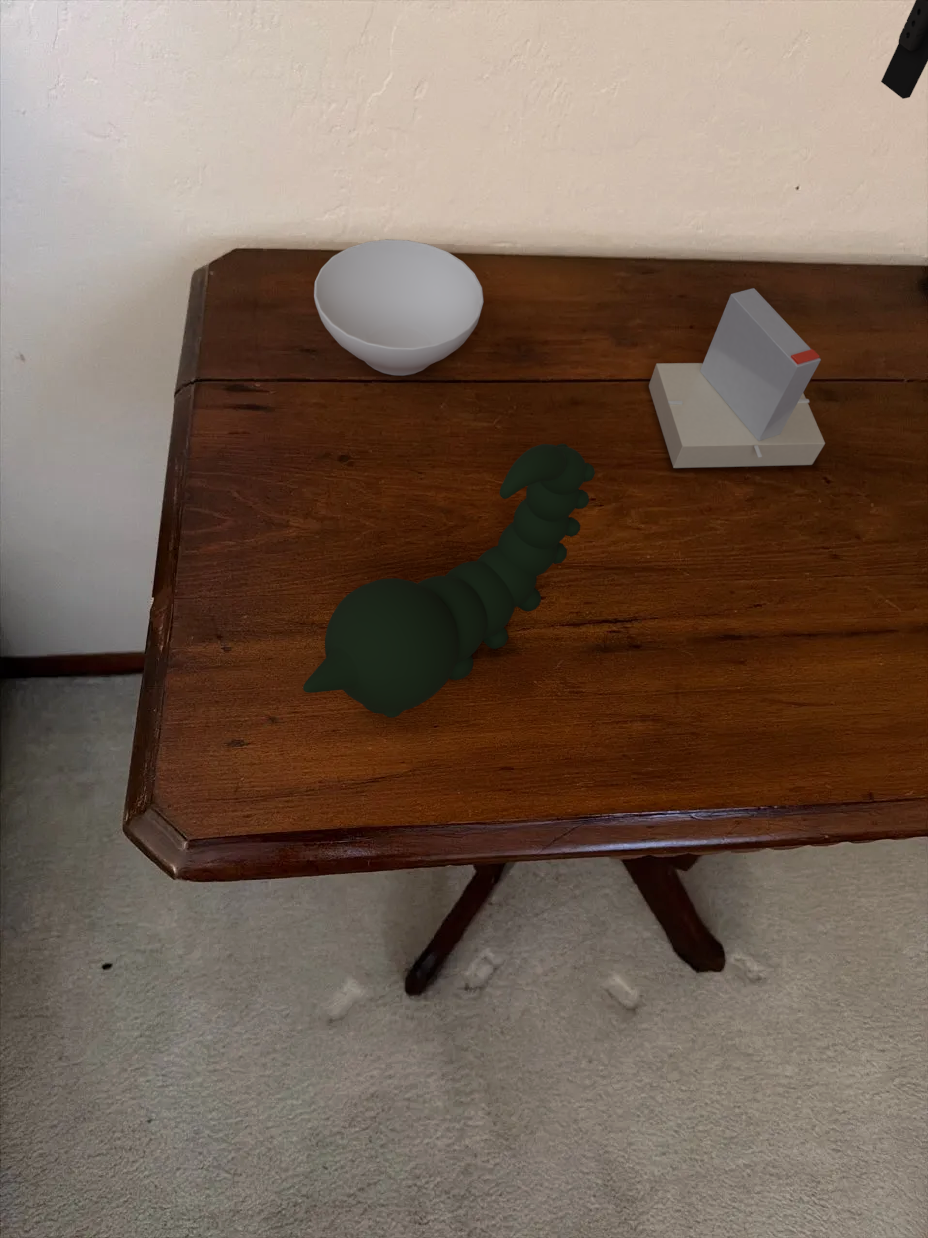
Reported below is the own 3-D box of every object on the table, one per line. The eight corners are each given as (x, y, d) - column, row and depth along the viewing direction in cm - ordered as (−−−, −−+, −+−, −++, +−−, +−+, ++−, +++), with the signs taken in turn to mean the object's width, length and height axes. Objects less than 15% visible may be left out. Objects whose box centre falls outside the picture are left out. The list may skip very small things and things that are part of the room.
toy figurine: (497, 552, 78) (264, 704, 66) (545, 383, 63) (254, 540, 51) (573, 621, 75) (343, 794, 63) (643, 461, 60) (358, 647, 48)
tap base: (775, 373, 92) (787, 349, 89) (818, 477, 84) (832, 454, 82) (643, 374, 90) (652, 350, 87) (676, 481, 83) (686, 458, 80)
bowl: (309, 302, 91) (305, 242, 86) (460, 294, 94) (465, 235, 88) (327, 413, 83) (323, 354, 77) (491, 400, 86) (499, 343, 80)
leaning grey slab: (699, 370, 86) (731, 291, 79) (721, 364, 87) (755, 285, 79) (758, 441, 82) (798, 364, 74) (780, 434, 83) (822, 357, 75)
